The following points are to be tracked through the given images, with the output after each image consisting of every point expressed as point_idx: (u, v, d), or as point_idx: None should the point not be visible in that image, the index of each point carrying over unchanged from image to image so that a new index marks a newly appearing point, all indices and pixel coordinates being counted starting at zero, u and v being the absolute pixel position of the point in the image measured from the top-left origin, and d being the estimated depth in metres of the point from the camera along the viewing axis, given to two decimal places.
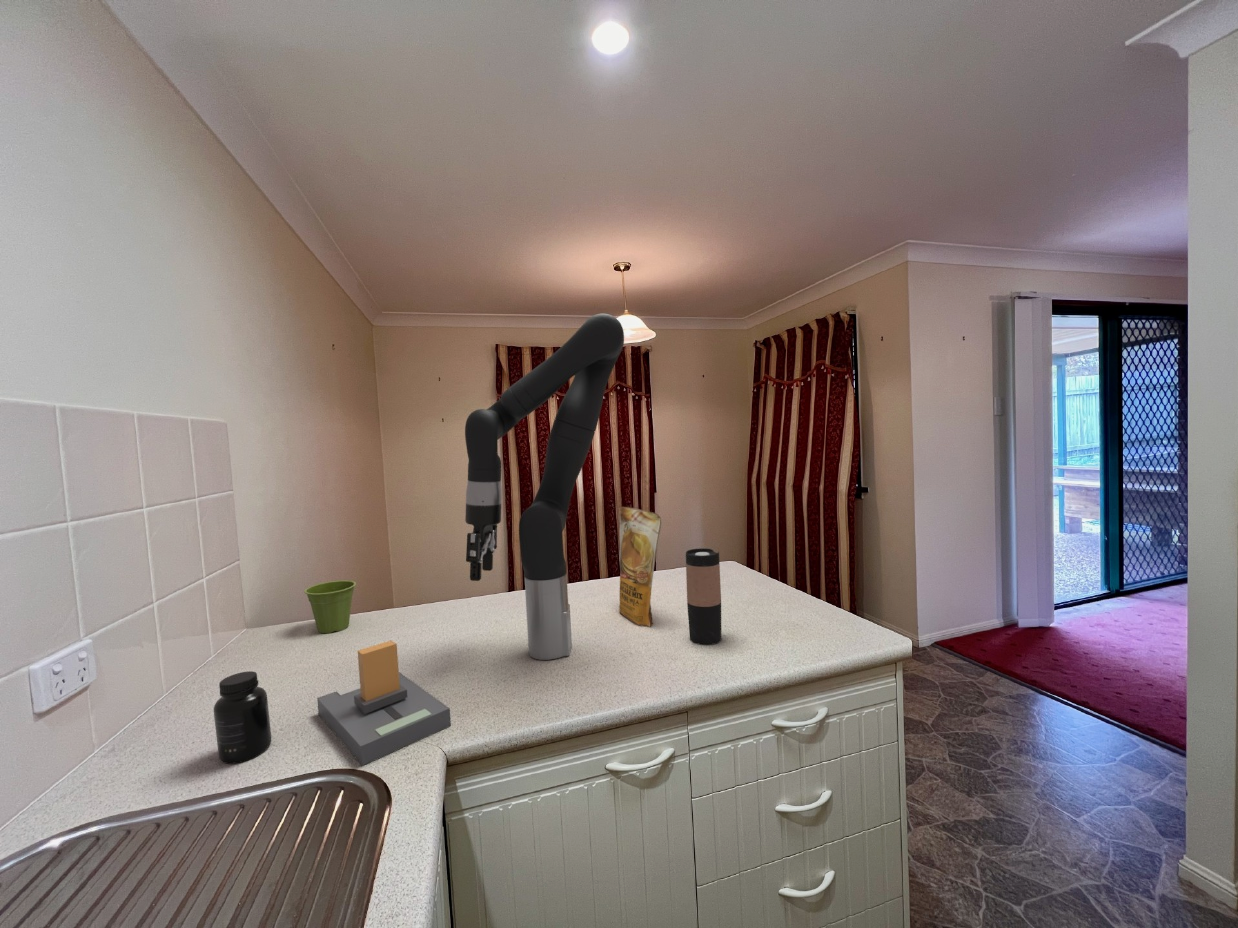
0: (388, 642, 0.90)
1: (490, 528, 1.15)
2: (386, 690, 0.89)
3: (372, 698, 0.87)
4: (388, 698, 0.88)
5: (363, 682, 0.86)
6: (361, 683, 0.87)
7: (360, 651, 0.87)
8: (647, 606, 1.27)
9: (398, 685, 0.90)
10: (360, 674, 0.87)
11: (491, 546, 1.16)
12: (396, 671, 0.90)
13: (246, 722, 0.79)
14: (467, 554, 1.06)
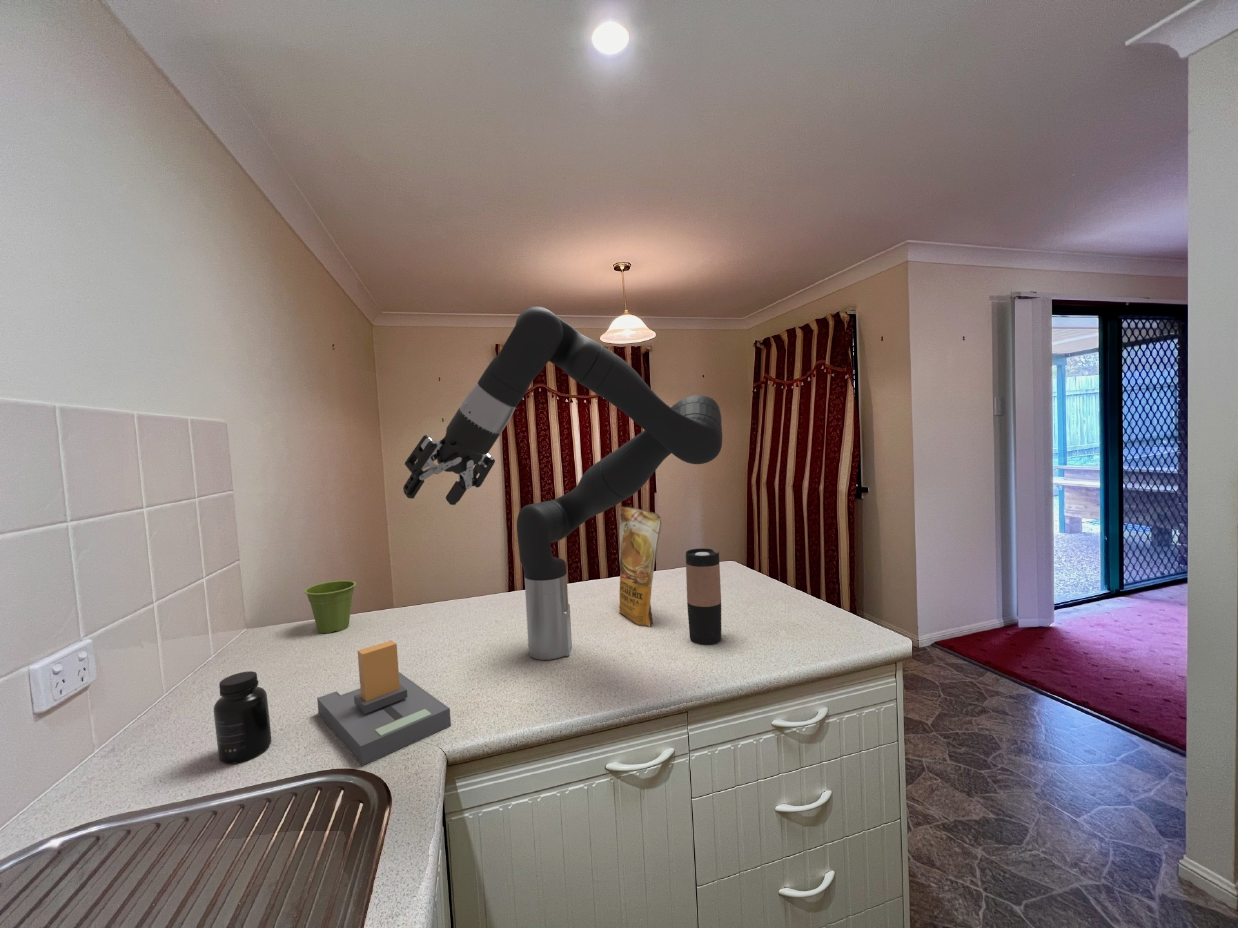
0: (388, 642, 0.90)
1: (473, 455, 0.84)
2: (386, 690, 0.89)
3: (372, 698, 0.87)
4: (388, 698, 0.88)
5: (363, 682, 0.86)
6: (361, 683, 0.87)
7: (360, 651, 0.87)
8: (647, 606, 1.27)
9: (398, 685, 0.90)
10: (360, 674, 0.87)
11: (465, 477, 0.86)
12: (396, 671, 0.90)
13: (246, 722, 0.79)
14: (409, 457, 0.78)
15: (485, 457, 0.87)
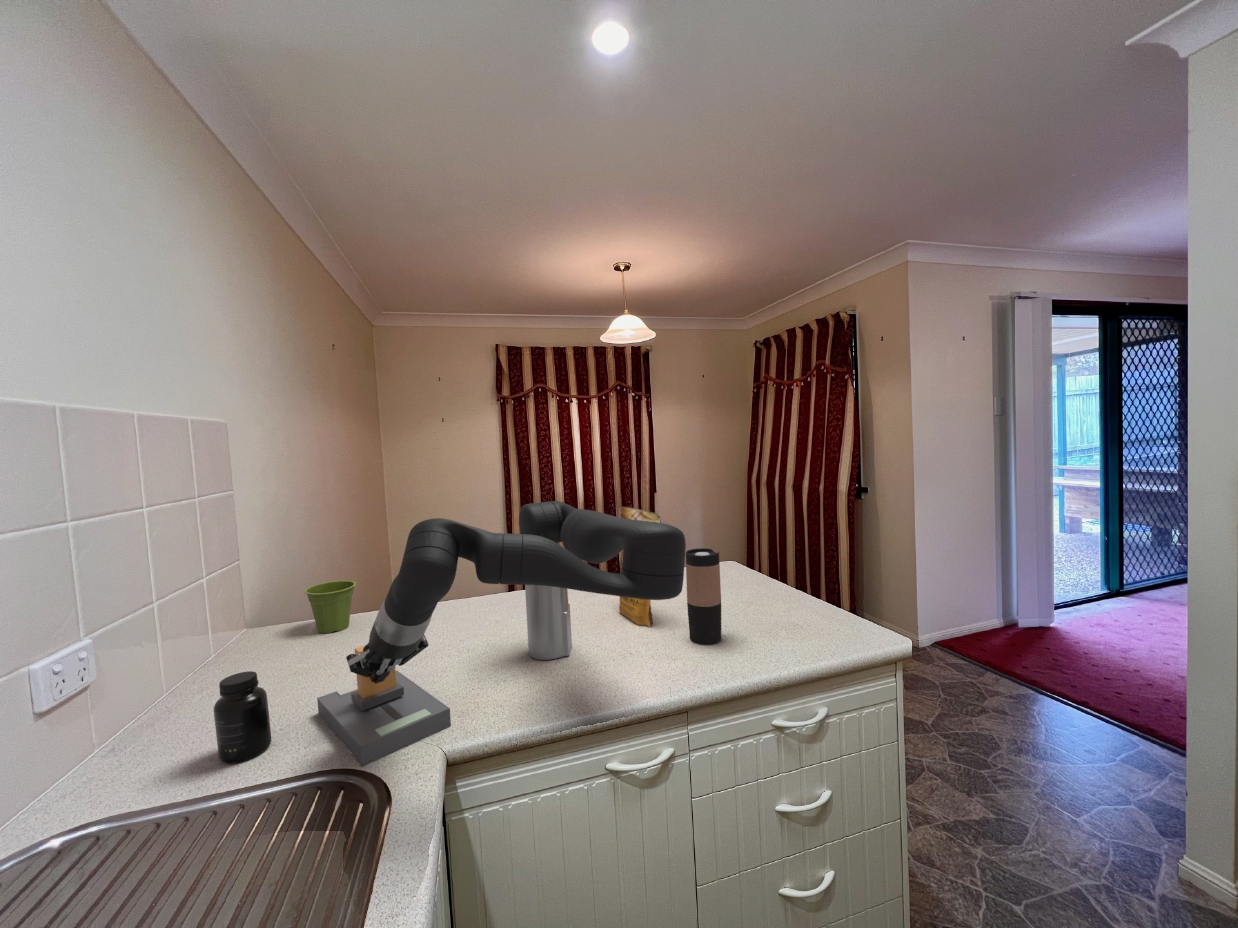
0: None
1: None
2: (383, 687, 0.90)
3: (369, 695, 0.88)
4: (385, 695, 0.89)
5: (360, 679, 0.87)
6: (358, 680, 0.88)
7: (357, 649, 0.88)
8: (647, 606, 1.27)
9: (395, 682, 0.91)
10: None
11: (391, 663, 0.85)
12: (393, 669, 0.91)
13: (246, 722, 0.79)
14: None
15: (420, 640, 0.86)
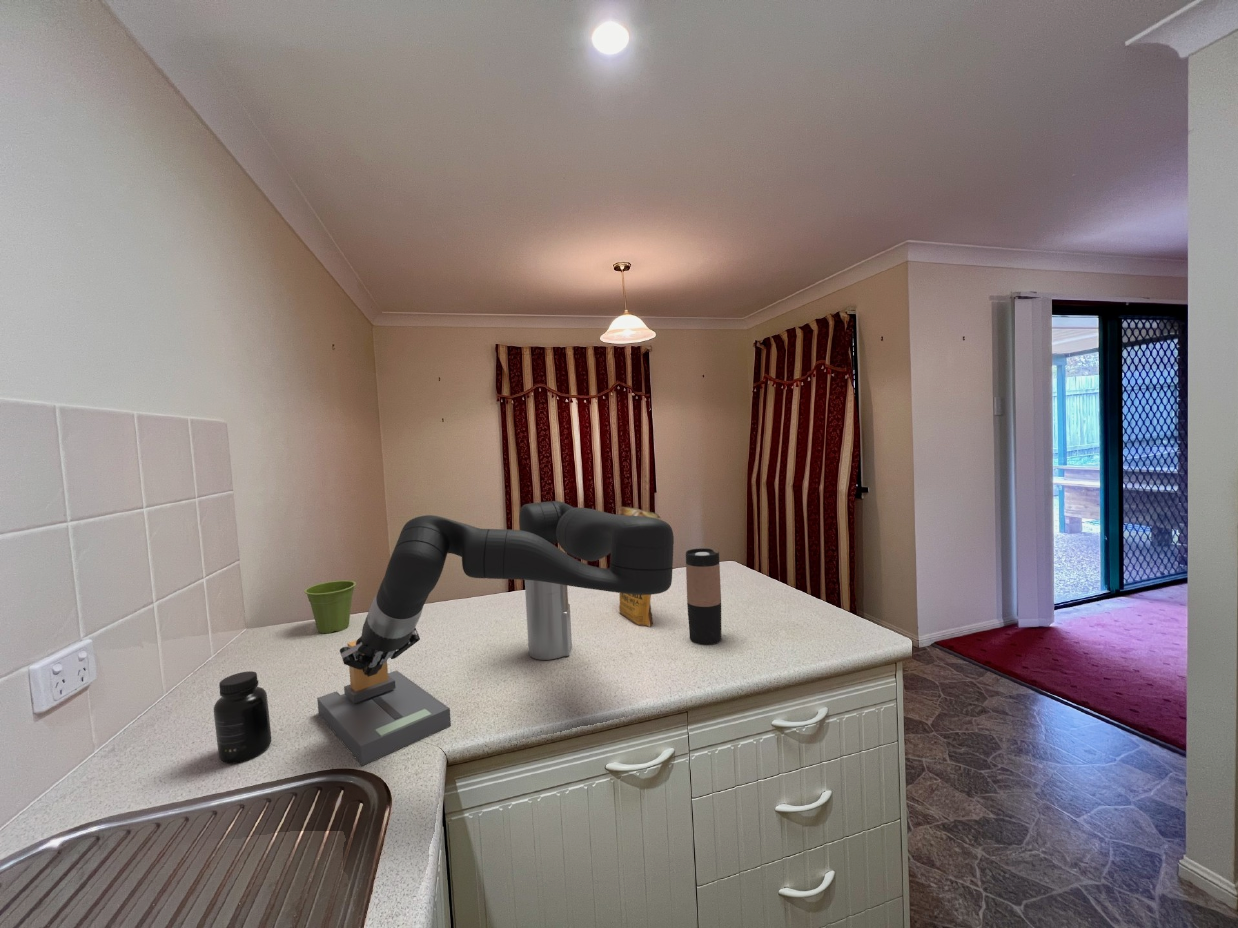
0: None
1: None
2: (375, 681, 0.92)
3: (361, 688, 0.90)
4: (377, 688, 0.91)
5: (352, 673, 0.90)
6: (351, 674, 0.91)
7: (350, 643, 0.91)
8: (647, 606, 1.27)
9: (387, 676, 0.94)
10: None
11: (383, 656, 0.87)
12: (385, 663, 0.93)
13: (246, 722, 0.79)
14: None
15: (412, 634, 0.89)
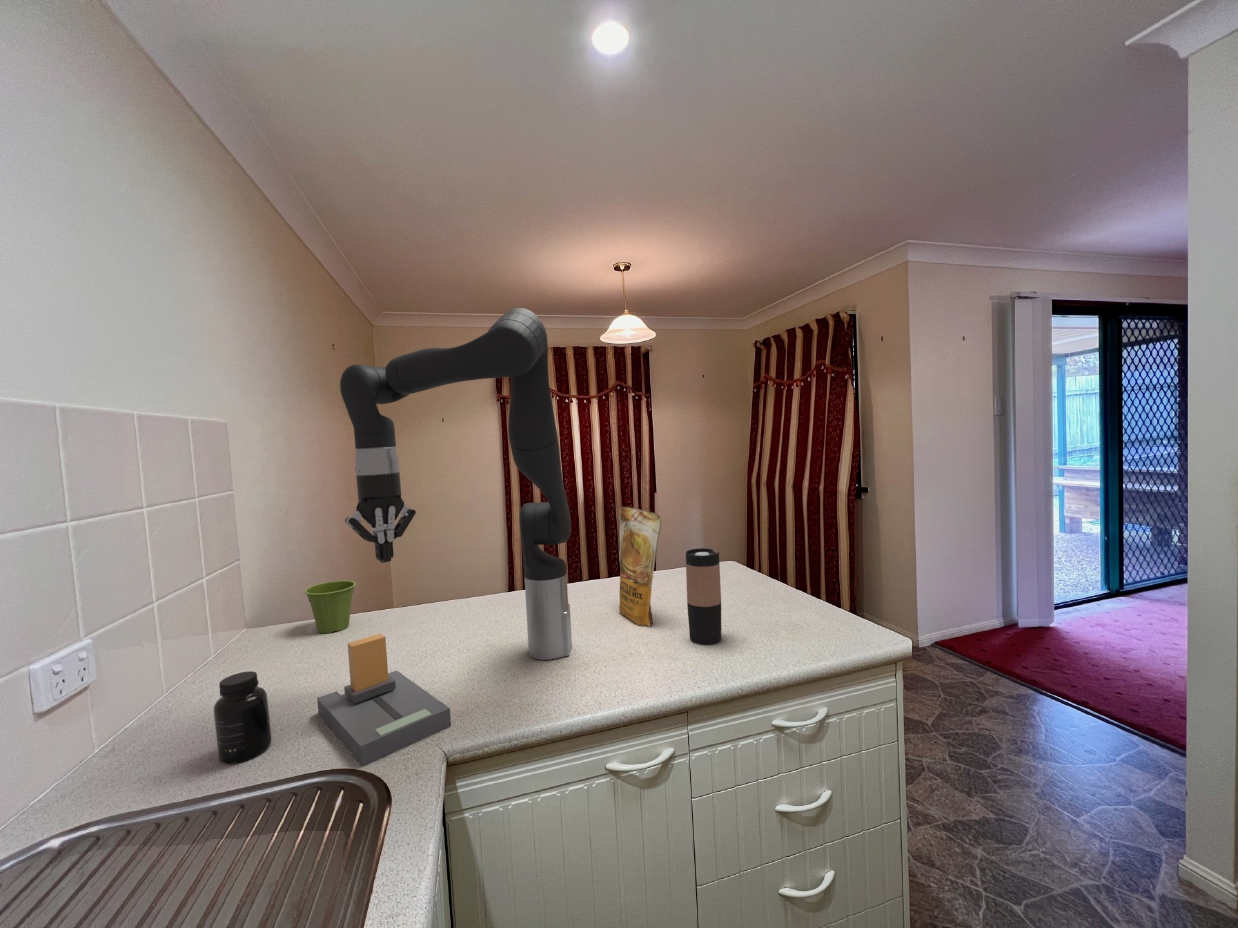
0: (377, 635, 0.94)
1: (393, 502, 0.99)
2: (375, 681, 0.92)
3: (361, 689, 0.90)
4: (377, 688, 0.91)
5: (352, 673, 0.90)
6: (351, 674, 0.91)
7: (350, 643, 0.91)
8: (647, 606, 1.27)
9: (387, 676, 0.94)
10: (350, 666, 0.91)
11: (387, 527, 0.99)
12: (385, 663, 0.93)
13: (246, 722, 0.79)
14: None
15: (407, 508, 1.02)
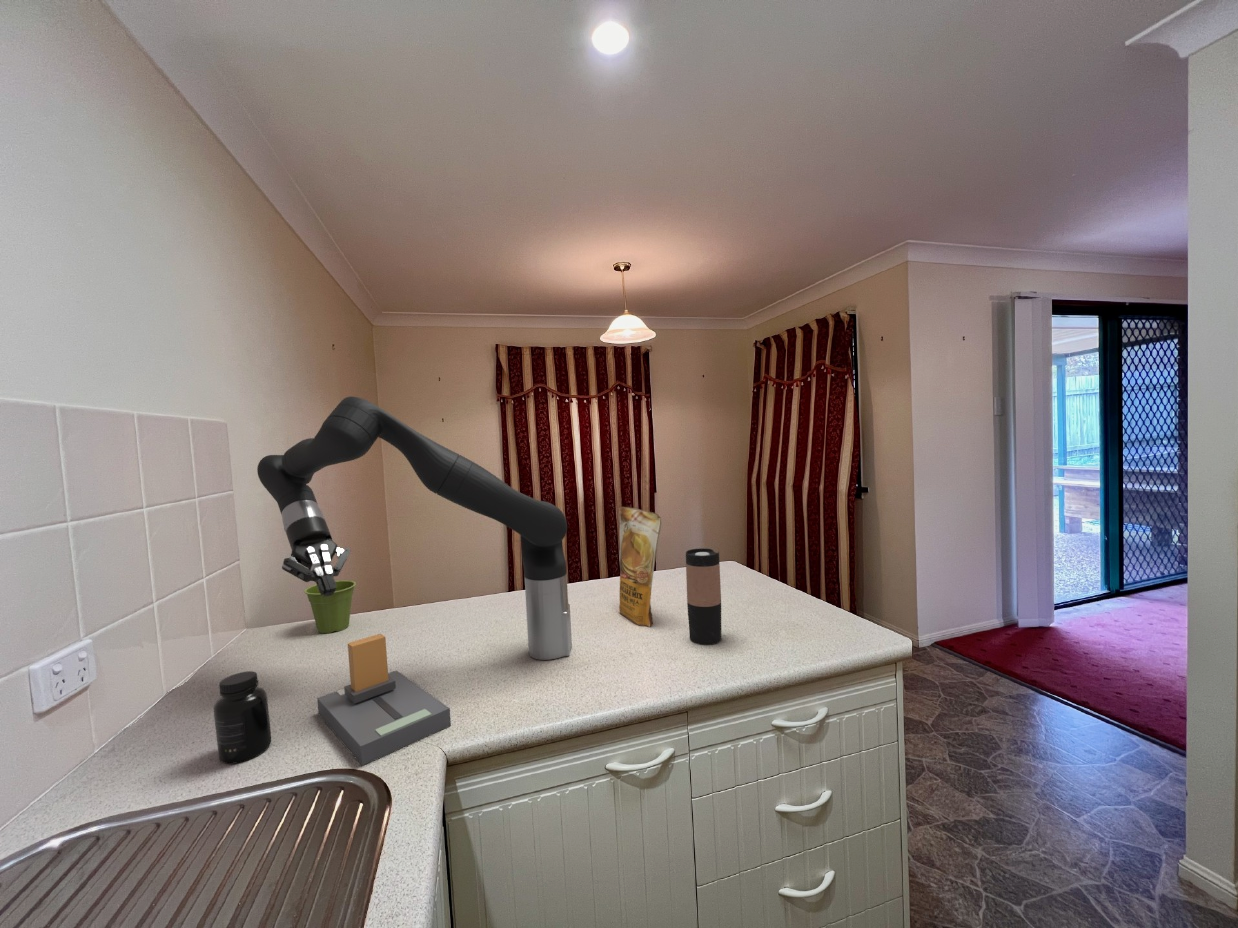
0: (377, 635, 0.94)
1: (325, 544, 1.09)
2: (375, 681, 0.92)
3: (361, 689, 0.90)
4: (377, 688, 0.91)
5: (352, 673, 0.90)
6: (351, 674, 0.91)
7: (350, 643, 0.91)
8: (647, 606, 1.27)
9: (387, 676, 0.94)
10: (350, 666, 0.91)
11: (323, 563, 1.05)
12: (385, 663, 0.93)
13: (246, 722, 0.79)
14: (300, 578, 1.03)
15: (341, 549, 1.10)
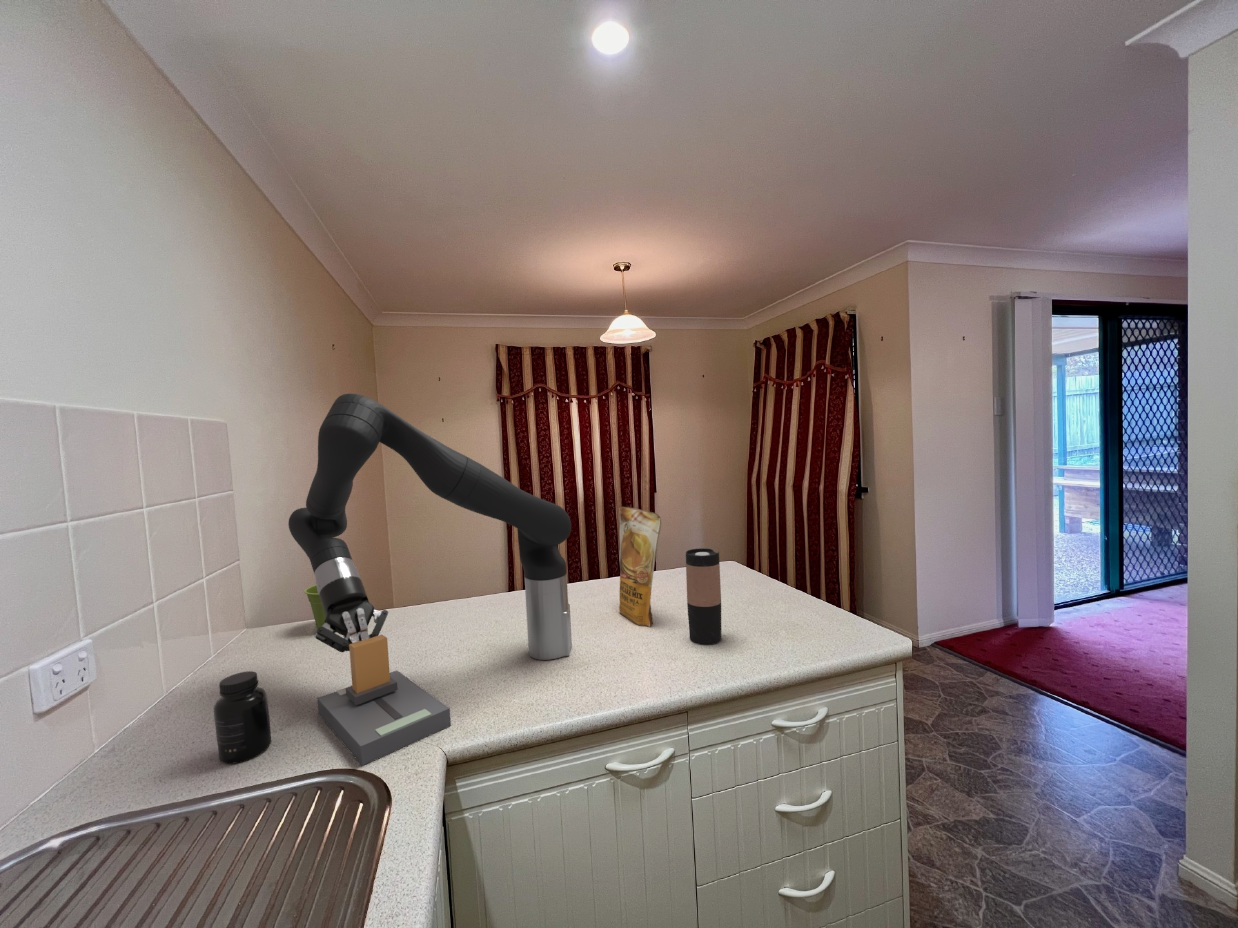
0: (379, 636, 0.93)
1: (361, 607, 0.99)
2: (377, 682, 0.92)
3: (363, 690, 0.90)
4: (379, 690, 0.91)
5: (354, 674, 0.89)
6: (353, 675, 0.90)
7: (351, 645, 0.90)
8: (647, 606, 1.27)
9: (388, 678, 0.93)
10: (351, 667, 0.90)
11: (359, 630, 0.96)
12: (387, 664, 0.93)
13: (246, 722, 0.79)
14: (335, 648, 0.94)
15: (378, 611, 1.01)
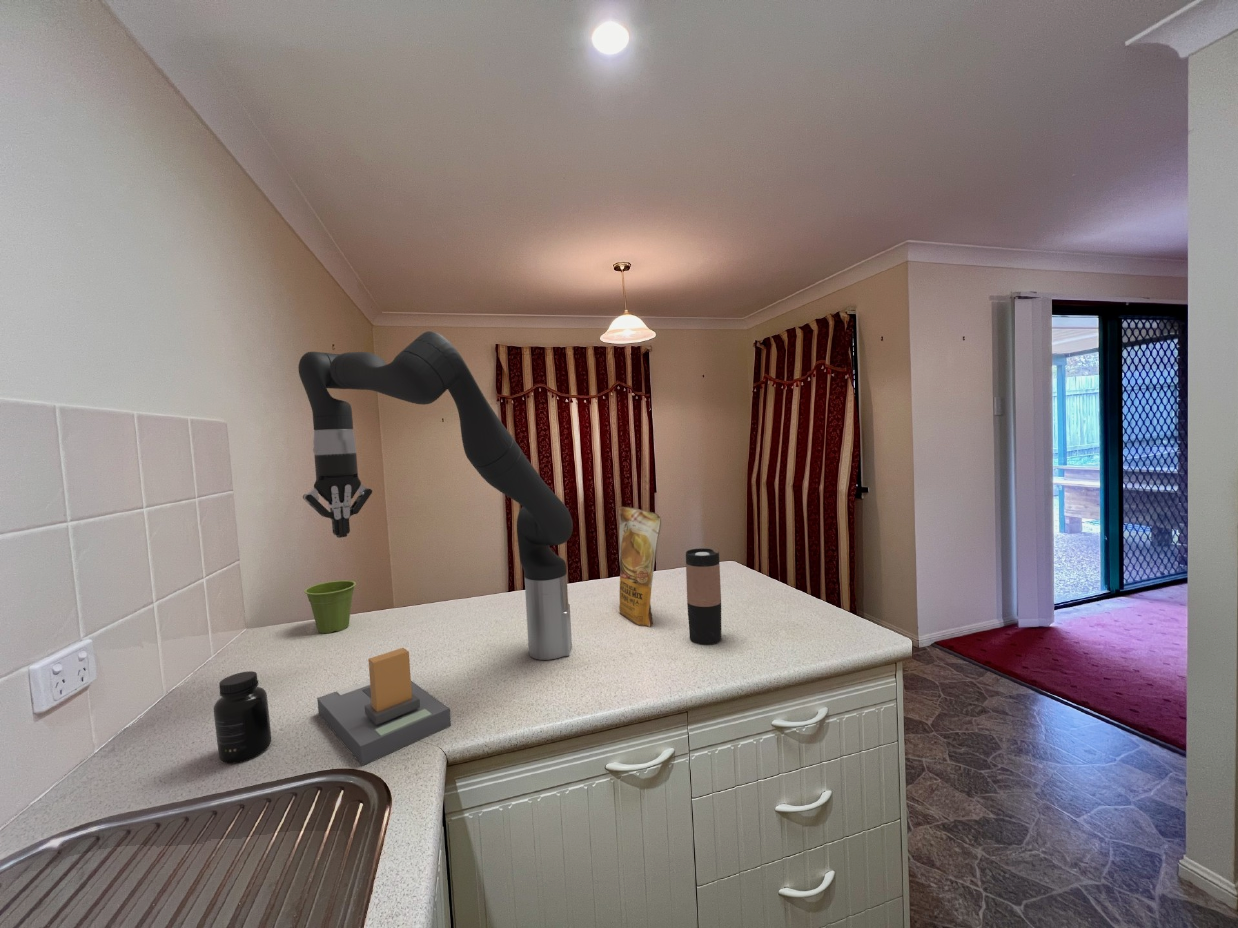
0: (400, 649, 0.87)
1: (349, 481, 1.06)
2: (398, 700, 0.85)
3: (384, 708, 0.83)
4: (401, 708, 0.84)
5: (374, 691, 0.83)
6: (372, 692, 0.83)
7: (371, 659, 0.83)
8: (647, 606, 1.27)
9: (410, 694, 0.86)
10: (371, 683, 0.84)
11: (343, 505, 1.05)
12: (409, 680, 0.86)
13: (246, 722, 0.79)
14: (318, 512, 1.04)
15: (364, 487, 1.09)
